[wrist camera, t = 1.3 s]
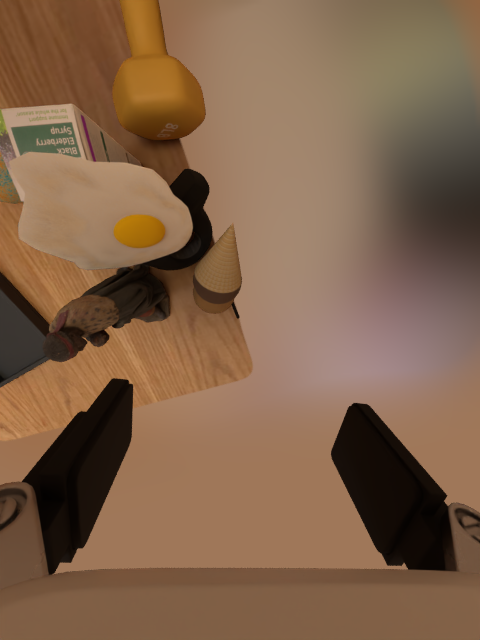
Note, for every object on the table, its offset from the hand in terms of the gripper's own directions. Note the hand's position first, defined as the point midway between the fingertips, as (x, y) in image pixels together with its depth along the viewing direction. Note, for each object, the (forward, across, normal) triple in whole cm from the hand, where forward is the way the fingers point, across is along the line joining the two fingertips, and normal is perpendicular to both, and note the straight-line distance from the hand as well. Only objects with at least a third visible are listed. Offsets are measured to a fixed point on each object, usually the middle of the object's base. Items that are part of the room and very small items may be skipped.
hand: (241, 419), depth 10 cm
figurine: (+27, +12, +3) cm, 29 cm away
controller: (+26, +4, -5) cm, 27 cm away
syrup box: (+27, +15, -10) cm, 32 cm away
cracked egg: (+15, +11, -6) cm, 20 cm away
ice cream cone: (+19, +4, -8) cm, 21 cm away
